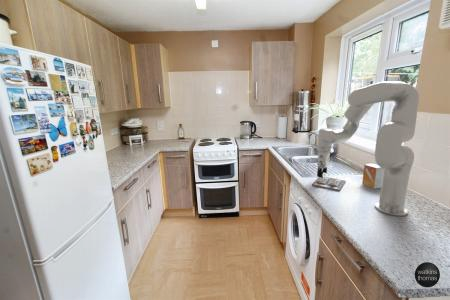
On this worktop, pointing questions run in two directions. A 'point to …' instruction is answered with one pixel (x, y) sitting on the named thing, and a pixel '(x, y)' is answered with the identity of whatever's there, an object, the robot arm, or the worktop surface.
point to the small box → (372, 175)
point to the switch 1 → (321, 180)
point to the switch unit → (327, 184)
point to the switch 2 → (333, 181)
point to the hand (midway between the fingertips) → (321, 174)
